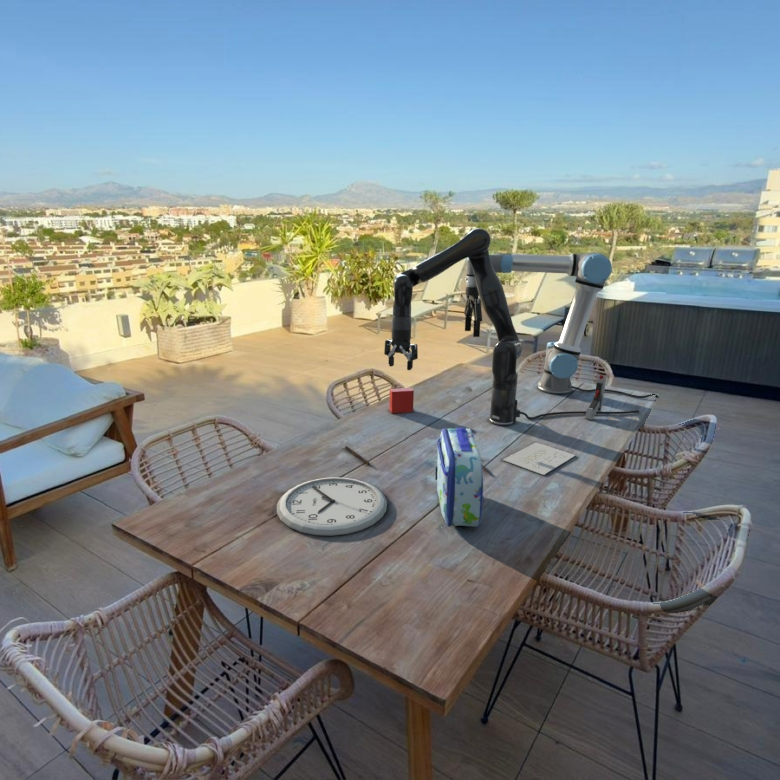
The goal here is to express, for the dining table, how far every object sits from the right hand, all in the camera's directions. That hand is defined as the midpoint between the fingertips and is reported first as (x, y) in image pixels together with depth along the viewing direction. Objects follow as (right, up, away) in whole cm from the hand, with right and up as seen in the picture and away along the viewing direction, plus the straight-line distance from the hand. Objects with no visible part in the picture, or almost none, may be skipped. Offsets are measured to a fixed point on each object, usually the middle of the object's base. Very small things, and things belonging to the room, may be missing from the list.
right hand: (471, 333), depth 236 cm
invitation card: (+13, -48, -61) cm, 79 cm away
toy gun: (+47, -36, -20) cm, 62 cm away
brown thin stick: (-48, -47, -63) cm, 92 cm away
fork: (-9, -49, -66) cm, 83 cm away
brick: (-32, -34, -19) cm, 51 cm away
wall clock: (-53, -57, -93) cm, 121 cm away
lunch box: (-19, -58, -93) cm, 111 cm away
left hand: (-33, -17, -30) cm, 47 cm away
